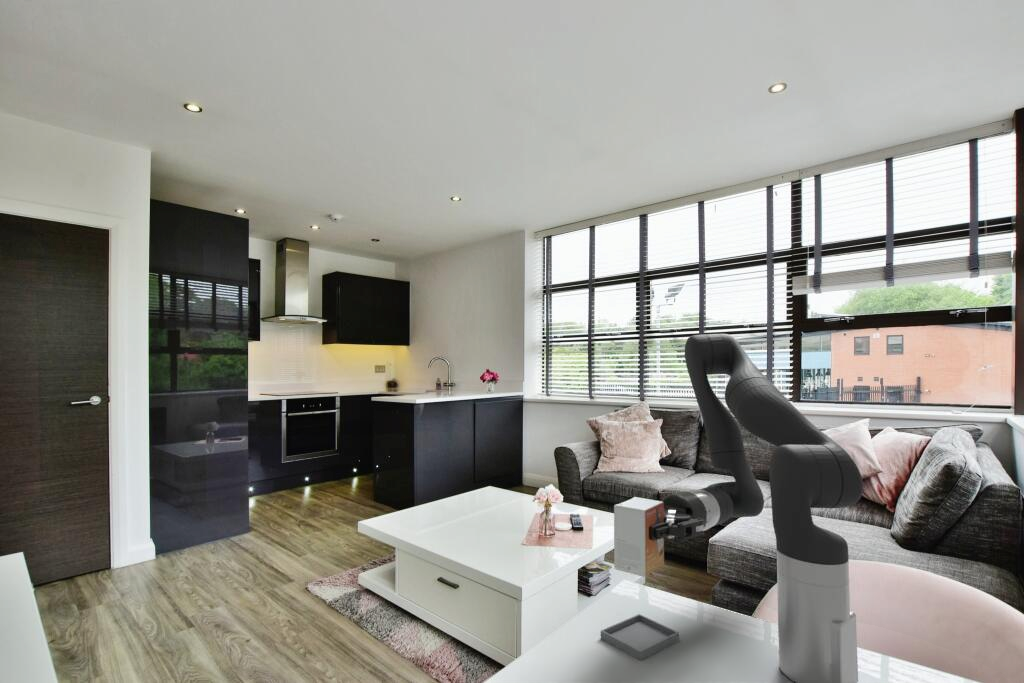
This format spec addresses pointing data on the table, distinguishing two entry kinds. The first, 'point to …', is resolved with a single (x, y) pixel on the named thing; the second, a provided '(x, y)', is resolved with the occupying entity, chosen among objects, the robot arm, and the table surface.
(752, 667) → the table surface
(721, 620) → the table surface
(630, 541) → the small box
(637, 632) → the tray
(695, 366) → the robot arm
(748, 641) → the table surface
